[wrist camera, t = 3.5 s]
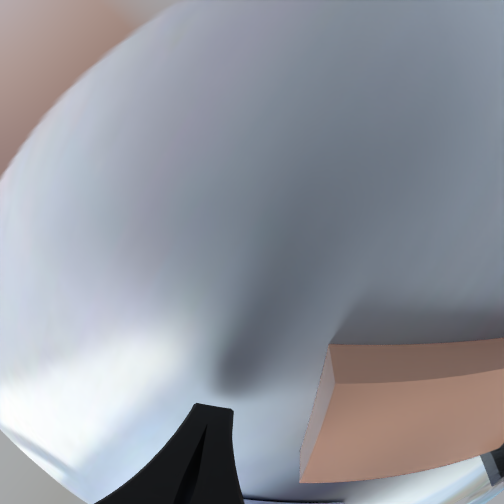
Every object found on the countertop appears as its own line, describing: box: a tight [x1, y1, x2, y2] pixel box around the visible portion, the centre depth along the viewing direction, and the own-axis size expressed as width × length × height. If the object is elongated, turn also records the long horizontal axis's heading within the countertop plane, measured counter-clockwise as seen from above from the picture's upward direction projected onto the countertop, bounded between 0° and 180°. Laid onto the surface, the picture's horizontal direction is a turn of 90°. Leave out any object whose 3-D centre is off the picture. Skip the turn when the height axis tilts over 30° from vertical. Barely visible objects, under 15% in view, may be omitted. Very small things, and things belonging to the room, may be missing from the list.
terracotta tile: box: [300, 338, 504, 483], centre depth 10 cm, size 7×12×2 cm, turn 88°
